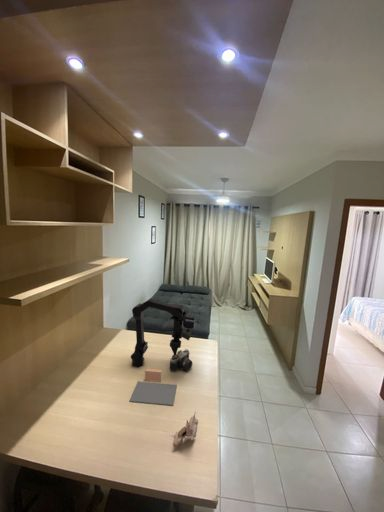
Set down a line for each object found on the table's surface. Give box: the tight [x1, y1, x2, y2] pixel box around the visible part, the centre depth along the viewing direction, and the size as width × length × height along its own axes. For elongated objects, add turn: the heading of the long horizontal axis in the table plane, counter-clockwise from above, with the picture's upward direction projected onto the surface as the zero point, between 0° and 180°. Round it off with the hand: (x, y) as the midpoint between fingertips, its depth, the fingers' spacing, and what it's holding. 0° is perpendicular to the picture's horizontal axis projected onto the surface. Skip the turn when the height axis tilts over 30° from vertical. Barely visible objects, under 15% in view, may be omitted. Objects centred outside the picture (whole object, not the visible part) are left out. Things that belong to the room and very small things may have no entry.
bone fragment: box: [172, 411, 199, 447], centre depth 93 cm, size 16×7×10 cm
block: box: [144, 368, 163, 383], centre depth 125 cm, size 9×2×6 cm, turn 87°
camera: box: [169, 348, 193, 373], centre depth 137 cm, size 16×10×10 cm, turn 139°
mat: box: [129, 381, 178, 407], centre depth 115 cm, size 22×14×1 cm, turn 87°
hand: (175, 350), depth 133 cm, fingers open, 9 cm apart
